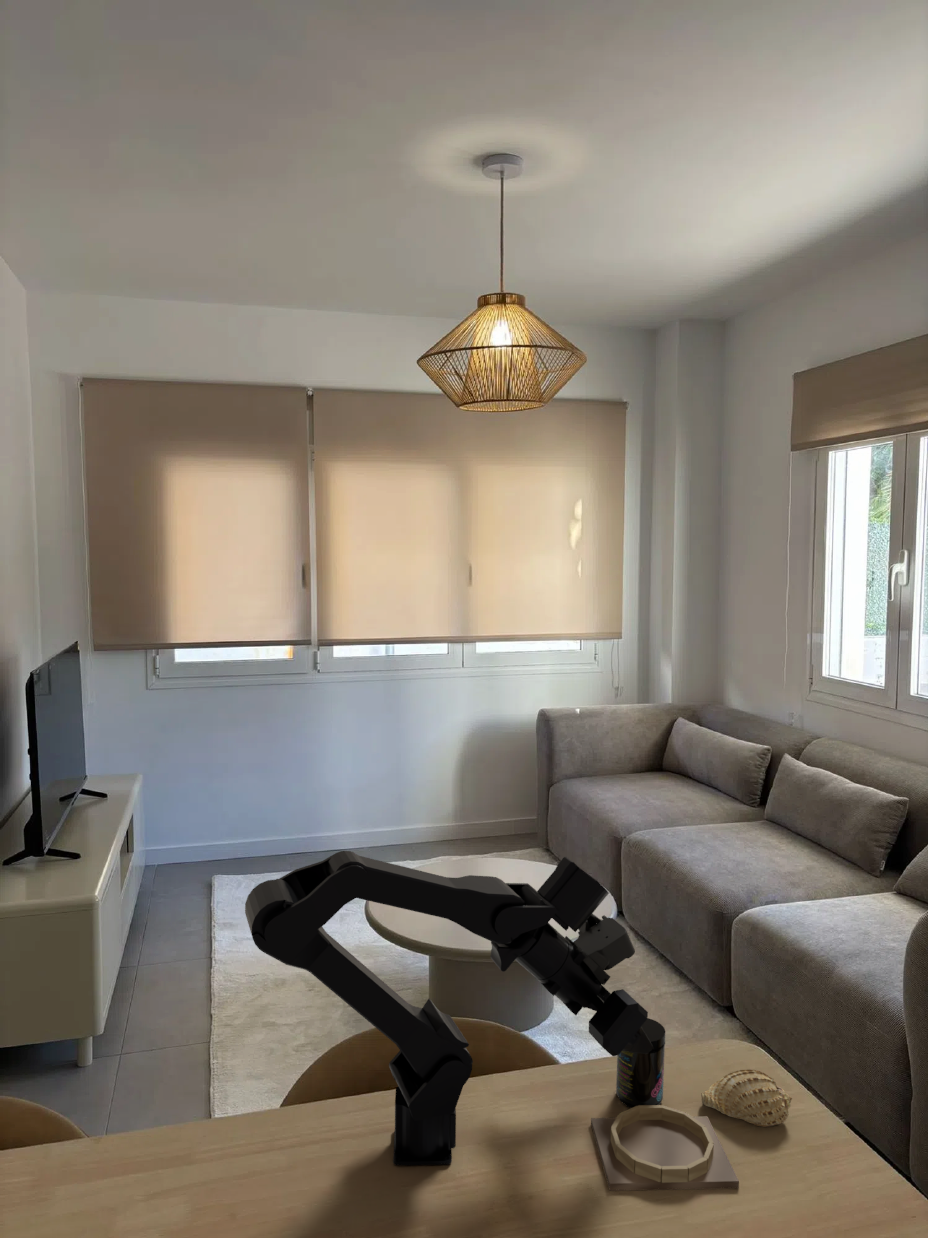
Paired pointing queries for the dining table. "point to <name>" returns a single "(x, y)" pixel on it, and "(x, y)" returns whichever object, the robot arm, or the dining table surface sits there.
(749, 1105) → the seashell
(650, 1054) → the supplement container
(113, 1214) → the dining table surface
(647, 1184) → the collar board
